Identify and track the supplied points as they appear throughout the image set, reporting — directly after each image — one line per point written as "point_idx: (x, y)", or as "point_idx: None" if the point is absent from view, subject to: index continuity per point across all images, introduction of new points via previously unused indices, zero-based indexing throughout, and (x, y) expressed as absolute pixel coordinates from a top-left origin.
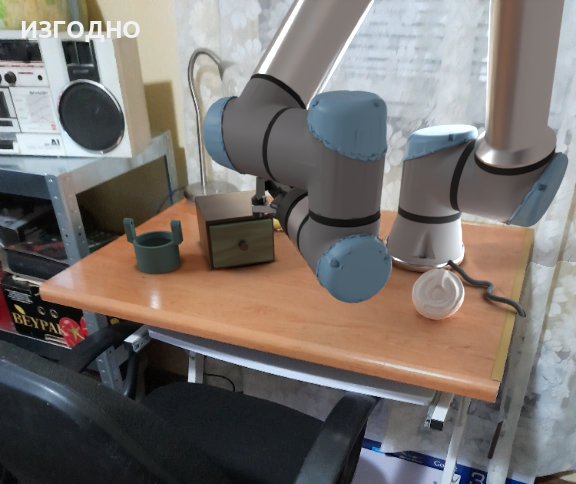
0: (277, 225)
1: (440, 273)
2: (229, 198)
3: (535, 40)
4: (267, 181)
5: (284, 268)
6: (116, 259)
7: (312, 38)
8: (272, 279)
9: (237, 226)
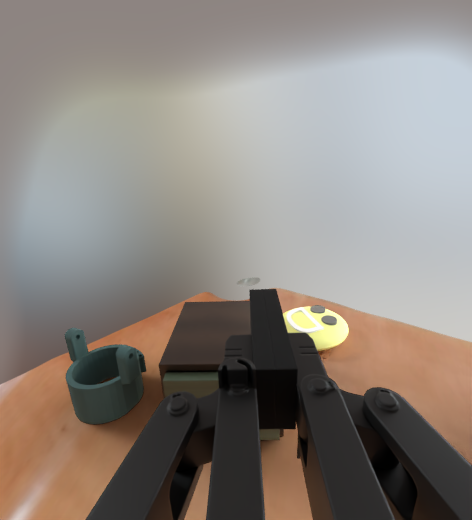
0: None
1: None
2: (227, 312)
3: None
4: (211, 428)
5: (298, 469)
6: None
7: None
8: (267, 513)
9: (213, 382)
